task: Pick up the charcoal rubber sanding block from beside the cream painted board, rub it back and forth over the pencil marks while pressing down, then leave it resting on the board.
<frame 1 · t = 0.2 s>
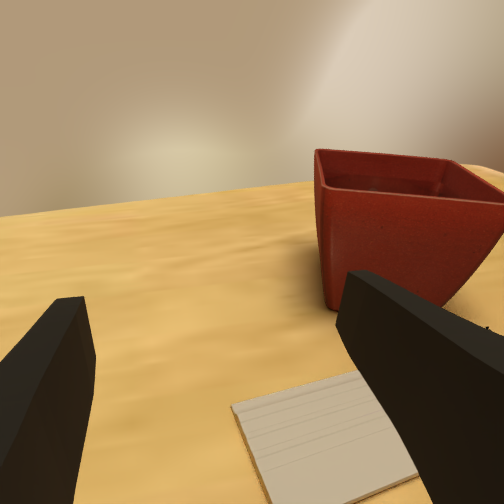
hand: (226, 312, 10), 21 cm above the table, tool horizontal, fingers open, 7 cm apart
plant pot: (368, 290, 51), on the table
baseboard molding: (402, 408, 35), on the table
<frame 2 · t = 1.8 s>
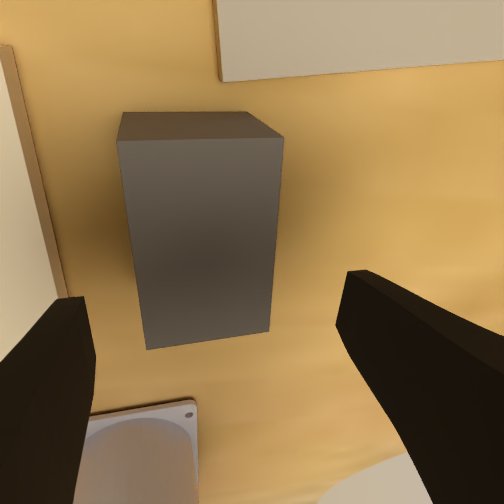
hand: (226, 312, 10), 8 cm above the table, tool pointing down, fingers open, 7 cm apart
sanding block: (191, 202, 17), on the table
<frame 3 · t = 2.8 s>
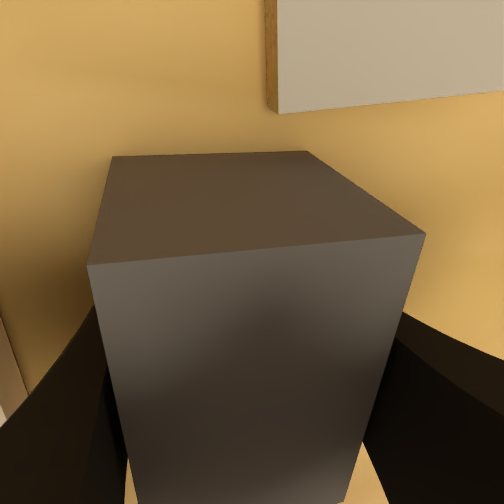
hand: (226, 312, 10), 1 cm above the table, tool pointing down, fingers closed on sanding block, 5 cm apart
sanding block: (217, 282, 11), on the table, touching gripper
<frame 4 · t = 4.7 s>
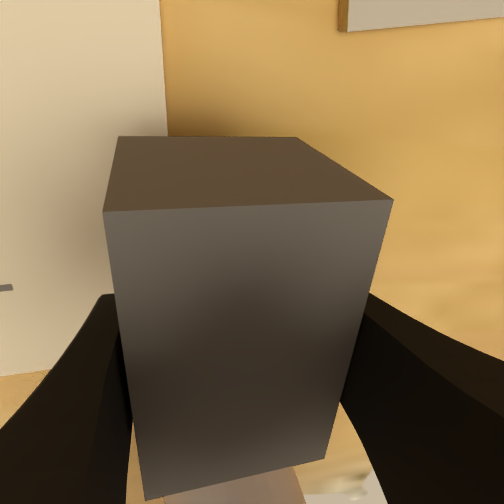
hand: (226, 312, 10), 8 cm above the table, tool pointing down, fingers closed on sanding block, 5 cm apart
sanding block: (211, 259, 12), point 6 cm above the table, touching gripper
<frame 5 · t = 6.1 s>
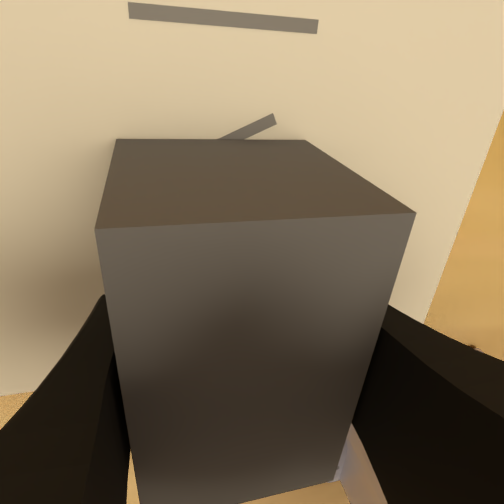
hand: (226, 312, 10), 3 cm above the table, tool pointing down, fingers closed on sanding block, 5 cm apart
board: (209, 137, 11), on the table
sanding block: (214, 267, 12), point 2 cm above the table, touching board, gripper
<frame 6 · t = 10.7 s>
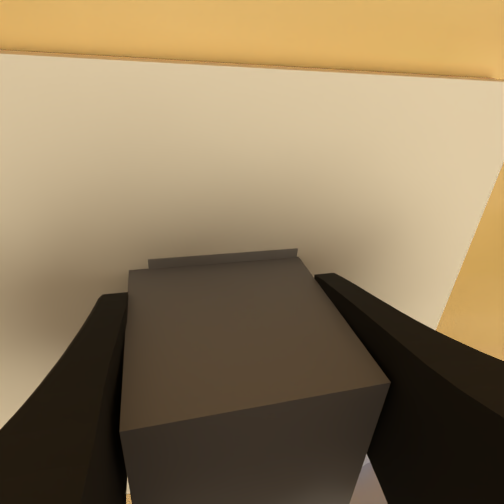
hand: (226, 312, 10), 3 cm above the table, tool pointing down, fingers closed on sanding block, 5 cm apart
board: (210, 308, 13), on the table
sanding block: (216, 363, 13), point 2 cm above the table, touching board, gripper
when the fingers open (4 cm above the table, at t = 11.5 s): sanding block stays where it is, resting on board.
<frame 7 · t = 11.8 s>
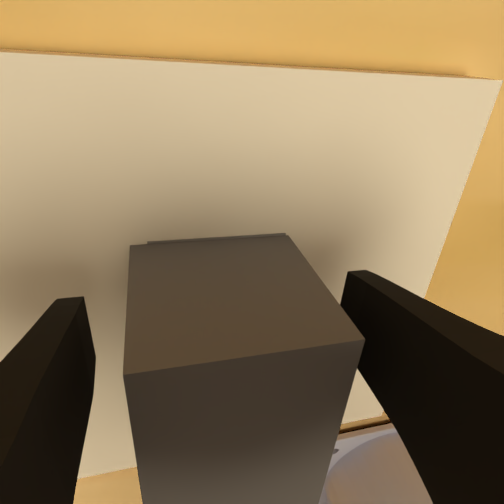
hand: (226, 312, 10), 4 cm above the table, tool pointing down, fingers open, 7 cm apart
board: (206, 291, 14), on the table
sanding block: (212, 336, 13), point 2 cm above the table, touching board
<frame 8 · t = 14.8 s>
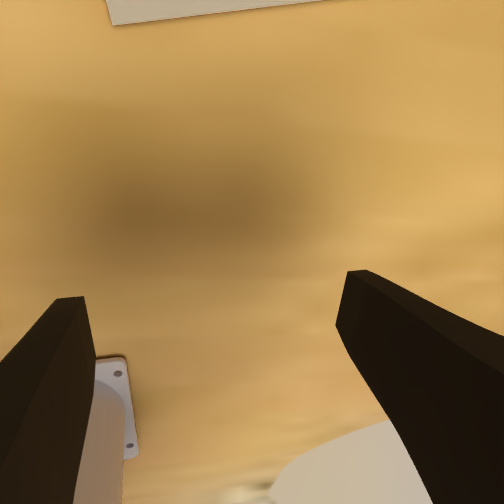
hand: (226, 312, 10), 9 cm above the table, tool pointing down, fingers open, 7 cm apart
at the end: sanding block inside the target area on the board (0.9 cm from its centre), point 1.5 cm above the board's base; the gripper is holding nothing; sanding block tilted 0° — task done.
